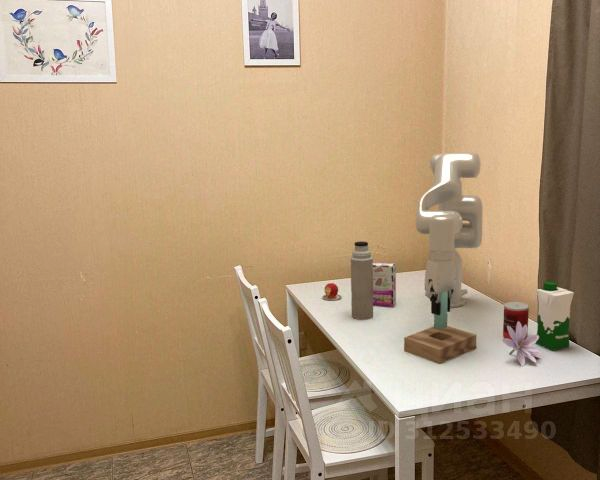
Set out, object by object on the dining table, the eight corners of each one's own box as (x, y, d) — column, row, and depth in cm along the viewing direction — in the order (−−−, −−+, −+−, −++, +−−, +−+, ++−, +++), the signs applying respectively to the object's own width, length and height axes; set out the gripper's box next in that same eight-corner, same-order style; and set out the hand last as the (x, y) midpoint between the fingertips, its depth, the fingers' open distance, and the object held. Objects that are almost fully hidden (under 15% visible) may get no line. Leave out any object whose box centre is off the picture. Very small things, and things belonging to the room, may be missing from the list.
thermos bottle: (374, 313, 234) (373, 240, 228) (372, 320, 226) (371, 244, 220) (352, 312, 235) (351, 239, 230) (350, 319, 228) (349, 244, 222)
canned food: (527, 334, 208) (528, 302, 205) (527, 342, 200) (529, 309, 198) (503, 332, 210) (504, 300, 208) (502, 340, 203) (503, 308, 201)
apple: (342, 300, 250) (341, 285, 249) (322, 301, 250) (321, 285, 249) (341, 295, 258) (341, 279, 257) (322, 295, 258) (321, 280, 257)
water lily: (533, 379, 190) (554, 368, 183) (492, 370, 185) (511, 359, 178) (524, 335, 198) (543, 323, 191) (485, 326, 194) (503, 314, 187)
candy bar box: (396, 303, 244) (396, 263, 240) (393, 307, 239) (393, 266, 236) (368, 301, 248) (368, 261, 245) (365, 305, 244) (364, 264, 240)
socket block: (440, 336, 208) (440, 323, 207) (476, 348, 197) (476, 334, 196) (404, 350, 197) (404, 337, 196) (439, 363, 186) (439, 349, 185)
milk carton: (552, 338, 203) (555, 279, 199) (574, 347, 195) (577, 286, 191) (531, 343, 200) (534, 283, 196) (552, 352, 191) (556, 290, 187)
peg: (439, 323, 198) (440, 274, 195) (449, 326, 195) (450, 277, 192) (431, 326, 195) (431, 277, 192) (441, 329, 192) (442, 279, 189)
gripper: (448, 249, 199) (447, 304, 202) (413, 257, 188) (413, 315, 192) (468, 252, 193) (467, 309, 197) (433, 261, 183) (432, 321, 186)
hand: (440, 311), depth 194 cm, fingers closed on peg, 4 cm apart
